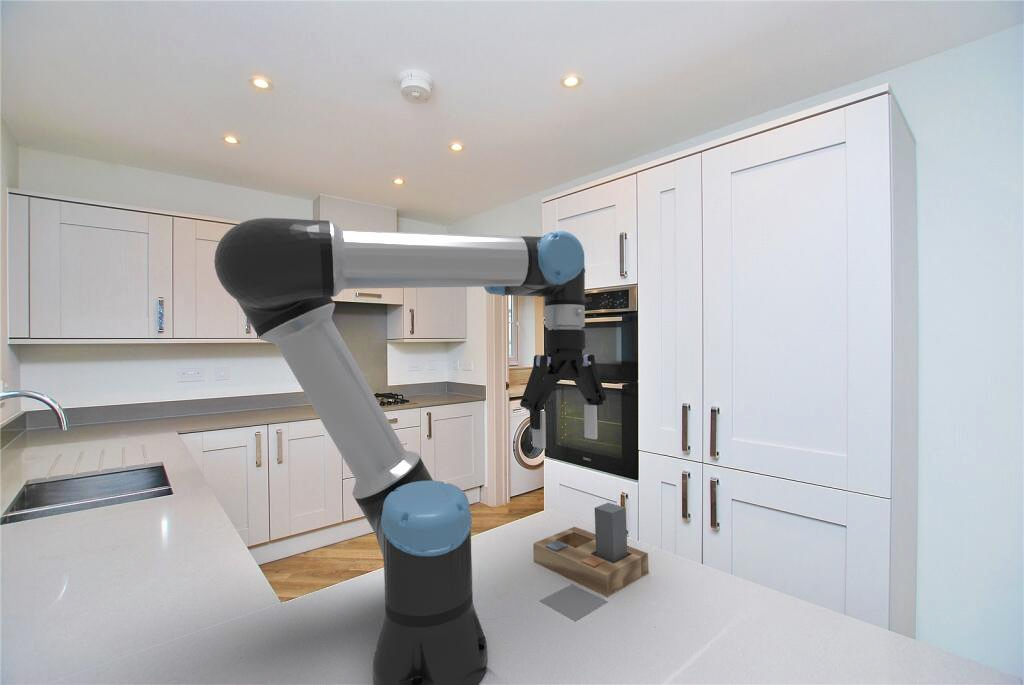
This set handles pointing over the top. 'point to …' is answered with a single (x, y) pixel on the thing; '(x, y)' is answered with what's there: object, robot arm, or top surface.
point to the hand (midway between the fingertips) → (566, 442)
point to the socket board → (585, 573)
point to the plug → (611, 532)
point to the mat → (573, 602)
